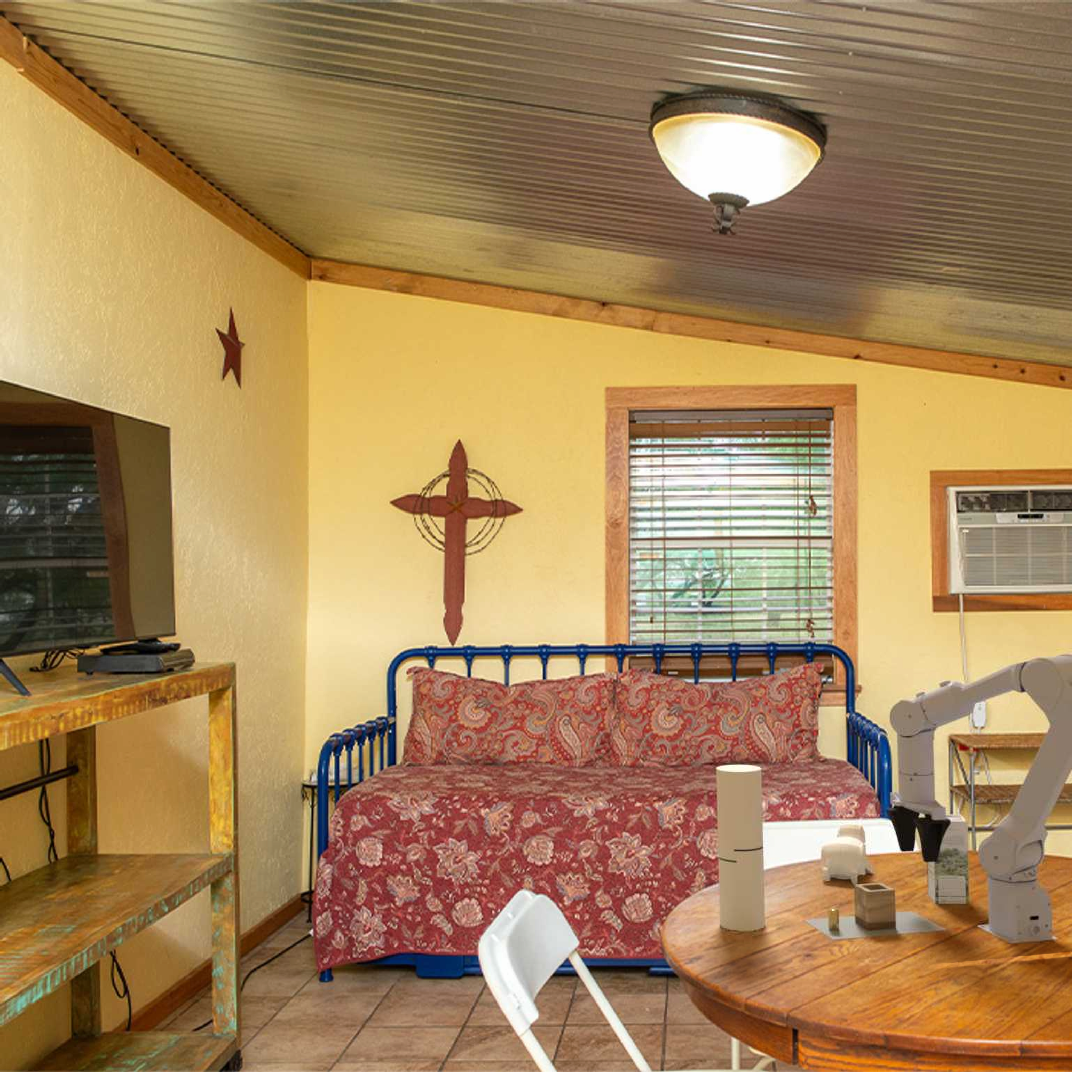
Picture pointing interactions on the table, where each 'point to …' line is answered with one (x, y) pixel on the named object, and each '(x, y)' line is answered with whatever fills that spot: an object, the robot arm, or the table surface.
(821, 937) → the table surface
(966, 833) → the syrup box
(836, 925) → the brass pin
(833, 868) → the white animal figurine
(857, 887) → the sleeve
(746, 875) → the cylindrical container
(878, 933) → the board
